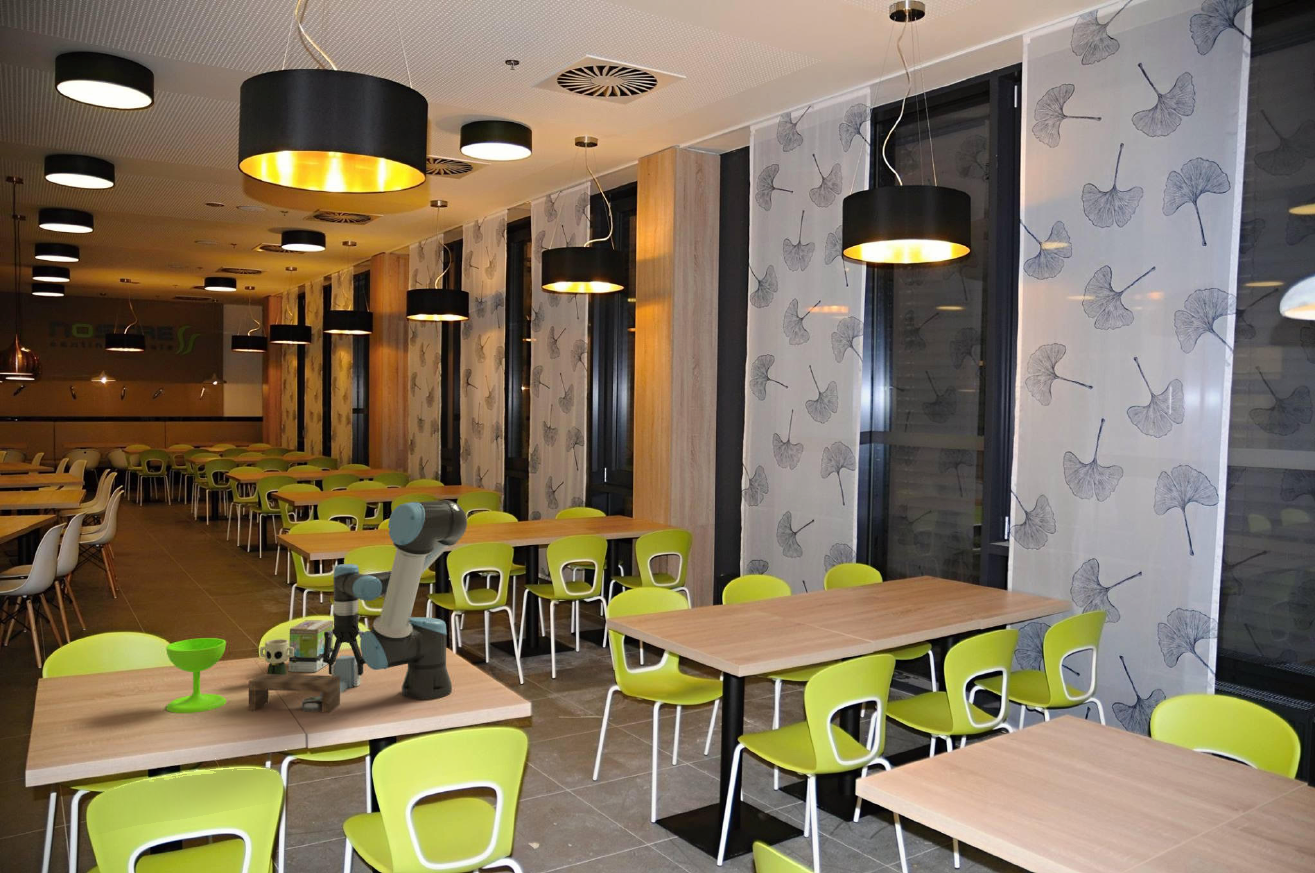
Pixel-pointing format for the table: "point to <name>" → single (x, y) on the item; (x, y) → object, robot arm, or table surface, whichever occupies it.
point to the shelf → (295, 688)
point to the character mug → (277, 655)
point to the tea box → (308, 645)
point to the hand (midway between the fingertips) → (346, 684)
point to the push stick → (345, 671)
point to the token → (312, 704)
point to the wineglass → (196, 671)
